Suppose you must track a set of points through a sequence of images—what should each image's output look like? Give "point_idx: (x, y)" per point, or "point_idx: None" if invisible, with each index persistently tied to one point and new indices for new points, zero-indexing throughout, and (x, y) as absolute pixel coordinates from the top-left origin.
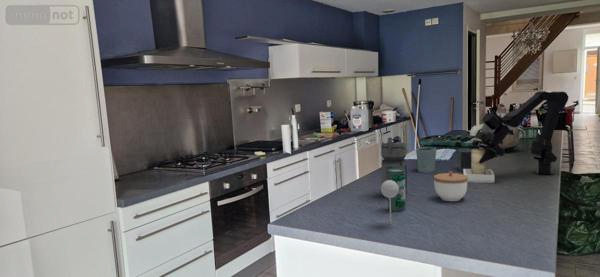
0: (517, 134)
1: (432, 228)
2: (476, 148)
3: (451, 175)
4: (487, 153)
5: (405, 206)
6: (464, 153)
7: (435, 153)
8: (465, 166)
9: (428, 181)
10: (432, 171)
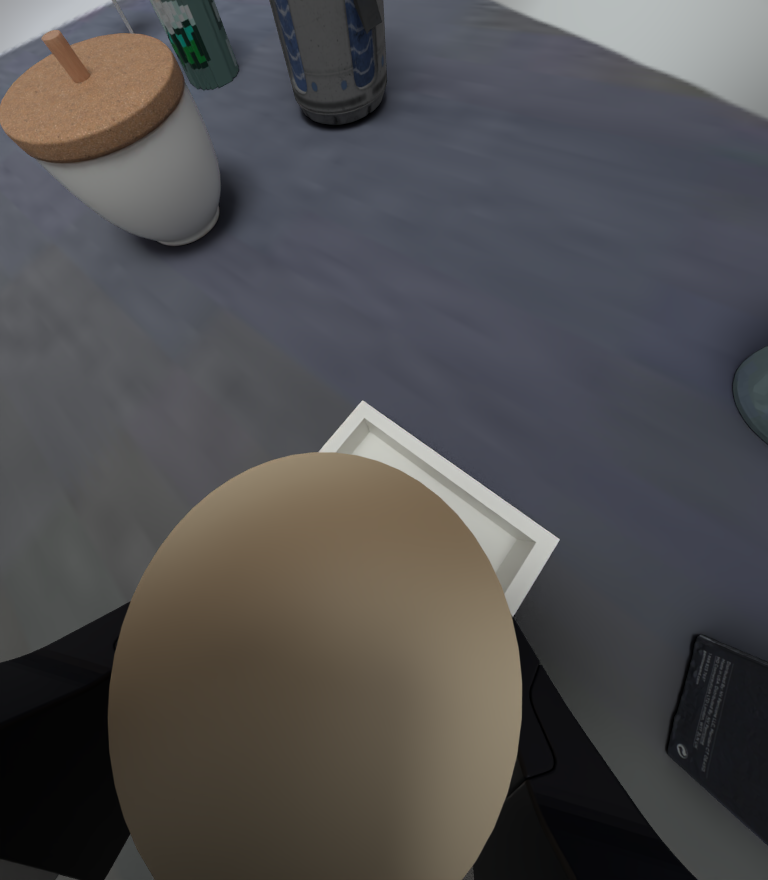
0: None
1: None
2: (591, 872)
3: (68, 70)
4: (60, 658)
5: (190, 75)
6: None
7: None
8: (746, 711)
9: (484, 275)
10: (749, 412)
